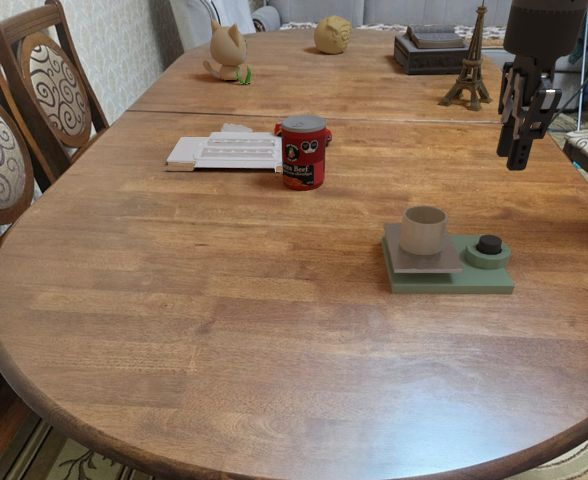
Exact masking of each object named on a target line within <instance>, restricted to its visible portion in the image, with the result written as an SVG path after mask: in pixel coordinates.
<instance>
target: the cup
mask: <svg viewBox="0 0 588 480" xmlns="http://www.w3.org/2000/svg"><path fill="white" fill-rule="evenodd" d="M449 218H450V217H449V214H448V213H447V211H445V210H444V209H443V208H439V207H437V206H433V205H427V204H416V205H410V206H409V207H406V208H405V209H403V211H402V213H401V222H400V223H401V229H400V236H399V245H400V247H401V248H402V249H403V250H405V251H406V252H409V253H411V254H415V255H433V254H436V253H438V252H440V251H441V250H442V248H443V244H444V240H445V235H446V229H447V230H448V225H449Z"/></svg>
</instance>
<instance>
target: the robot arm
mask: <svg viewBox="0 0 588 480" xmlns="http://www.w3.org/2000/svg"><path fill="white" fill-rule="evenodd" d="M587 9H588V0H511V4H510V8H509V13H508V18H507V22H506V27H505V33H504V36H503V37H504V38H503V42H502V48H503V50H504V51H505V52H506V53H508V54H511V55H514V58H513V61H504V63H503V65H502V72H501V73H502V74H501V83H500V90H499V91H500V92H499V98H498V107H497V115H498V116H500V119H499V120H500V125H501V129H500V134H499V138H498V143H497V146H496V150H495V151H496V152H495V153H496V155H497V156H498V157H499V158H507V160H506V164H505V167H506V168H507V170H508V171H510V172H521V171H524V170H525V169H527V164H528V162H529V158H530V155H531V154H530V153H531V151H532V147H533V144H534V140H543V139H544V138H545V135H546V133H547V131H548V129H549V127H550V125H551V123H552V120H553V118H554V115H555V113H556V110H557V109H558V106H559V104H560V101H561V100H562V96H563V89H562V88H554V84H555V76H556V67H557V66H556V65H557V61H558V60H559V59H560V58H562V57H564V58H565V57H568V56H570V55H571V54H573V53H574V51H575V50H576V47H577V43H578V40H579V38H580V33H581V30H582V26H583V23H584V19H585V17H586V16H585V15H586V12H587Z"/></svg>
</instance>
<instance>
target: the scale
mask: <svg viewBox="0 0 588 480" xmlns="http://www.w3.org/2000/svg"><path fill="white" fill-rule="evenodd" d="M483 235H484V234H449V236H450V238H451V240H452V243H453V245H454V248H455V250H456V252H457V255H458V257H459V260H460V262H461V264H462V267H463V269H464V270H463V273H394V271H393V267H392V263H391V258H390V254H389V249H388V245H387V241H386V236H385V234H382V235H381V240H380V243H381V244H380V245H381V248H382V254H383V259H384V263H385V268H386V273H387V278H388V282H389V286H390V291H391V294H392V295H513V293H514V289H515V283H514V282H513V279H512V278H511V276H510V274H509V272H508V270H507V269H506V266H507V265H508V263H509V261H510V259H511V255H512V250H511V248H510V247H509V245H508V244H506V243H504V242H502V244H501V248H500V252H499V254H497V255H486V254H482V253H480V252H479V251H478V250H477V247H478V243H479V239H480V237H481V236H483Z"/></svg>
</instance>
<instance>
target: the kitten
mask: <svg viewBox="0 0 588 480" xmlns="http://www.w3.org/2000/svg"><path fill="white" fill-rule="evenodd" d="M210 27H211V28H210V29H211V39H210V44H209V50H210V51H209V52H210V55H211V58H212V60H214V61H215V62H216V63H218V65H219V64H220V68H219V71H217V70H215V69H214V68H213V67H212V66H211V63H210V62H209V61H208V60H206V59H204V60H202V66H203V68H204V69H205V70H206V71H207V72H208V73H209V74H211V75H212V76H213V77H215V78H217V79H220V78H221V80H223V79H224V80H223V81H226V80H236V81H239V84H240V83H243V82H244V83H245V82H246V83H248V82H250V83H251V76H252V71H251V68H250V66H249V65H248V64H246V70H247V73H246V77H245V81H244V80H243V79H242V78H243V70H242V69H241V67H240V66H241V65H243V64H244V63H245V62H246V61H247V58H248V44H247V41H246V38H245V37H244V35H243V33H242V32H241V31H240V30H239V28H238V24H237V22H234V23H233V24H232V25H231V26H229V25H225V26H222V25H221V24H220V23H219V22H218V21H217V20H216V19H214V18H212V19H211V20H210ZM241 77H242V78H241ZM237 79H238V80H237Z"/></svg>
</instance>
